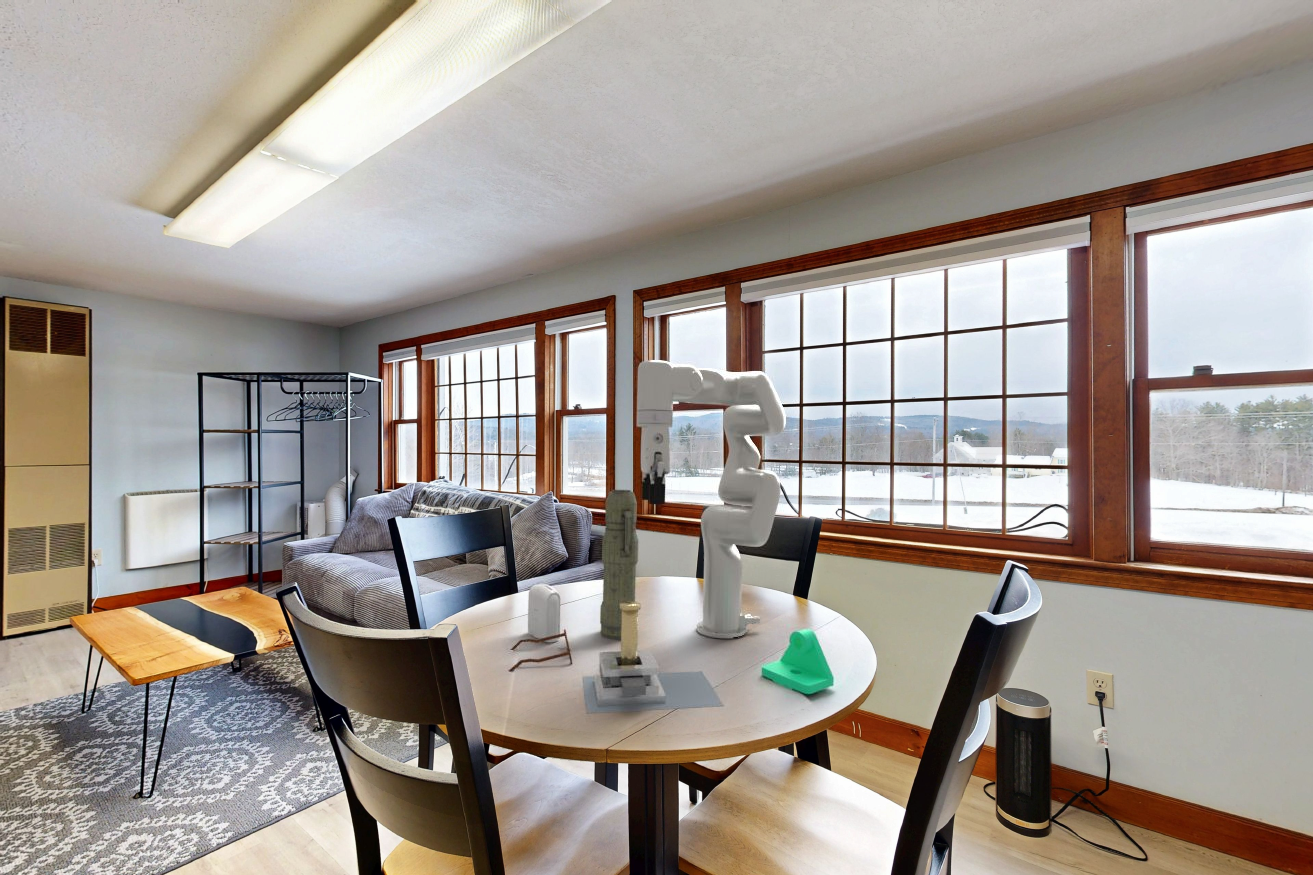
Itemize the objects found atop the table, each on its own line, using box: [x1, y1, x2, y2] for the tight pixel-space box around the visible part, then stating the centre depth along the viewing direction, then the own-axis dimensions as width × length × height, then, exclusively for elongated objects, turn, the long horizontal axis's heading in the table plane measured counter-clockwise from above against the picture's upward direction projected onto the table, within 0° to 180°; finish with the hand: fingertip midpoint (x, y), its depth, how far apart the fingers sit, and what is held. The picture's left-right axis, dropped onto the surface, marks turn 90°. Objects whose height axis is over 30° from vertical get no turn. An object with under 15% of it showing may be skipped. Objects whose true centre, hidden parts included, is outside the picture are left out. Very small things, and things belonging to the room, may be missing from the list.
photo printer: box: [527, 583, 561, 644], centre depth 140 cm, size 10×4×12 cm, turn 39°
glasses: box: [508, 629, 573, 672], centre depth 126 cm, size 13×13×5 cm
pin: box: [620, 601, 641, 666], centre depth 108 cm, size 4×4×15 cm
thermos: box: [599, 489, 639, 640], centre depth 144 cm, size 9×12×35 cm
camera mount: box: [761, 628, 835, 695], centre depth 115 cm, size 12×8×10 cm, turn 37°
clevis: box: [593, 649, 666, 706], centre depth 107 cm, size 12×14×6 cm
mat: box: [582, 671, 725, 714], centre depth 109 cm, size 24×16×1 cm, turn 100°
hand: (652, 501), depth 123 cm, fingers open, 9 cm apart
